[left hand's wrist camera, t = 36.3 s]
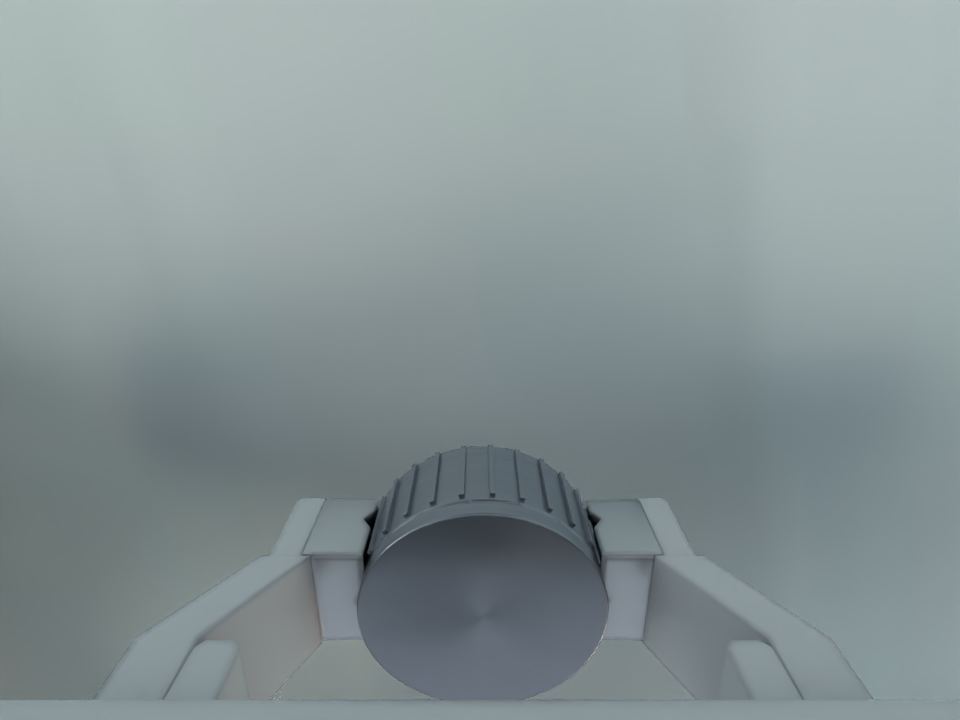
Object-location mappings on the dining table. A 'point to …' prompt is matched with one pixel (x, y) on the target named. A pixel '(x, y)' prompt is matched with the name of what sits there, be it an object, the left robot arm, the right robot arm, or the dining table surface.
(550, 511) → the cap
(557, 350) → the dining table surface
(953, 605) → the dining table surface
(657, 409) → the dining table surface
